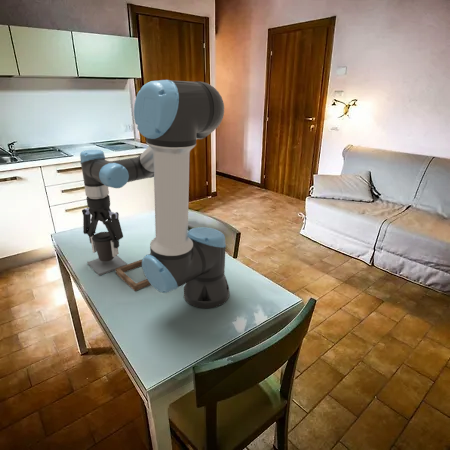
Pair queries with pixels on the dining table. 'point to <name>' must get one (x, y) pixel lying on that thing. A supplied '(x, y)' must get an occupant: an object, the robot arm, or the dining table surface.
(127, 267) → the wooden square frame
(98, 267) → the pad
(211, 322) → the dining table surface
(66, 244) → the dining table surface
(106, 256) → the coffee cup
